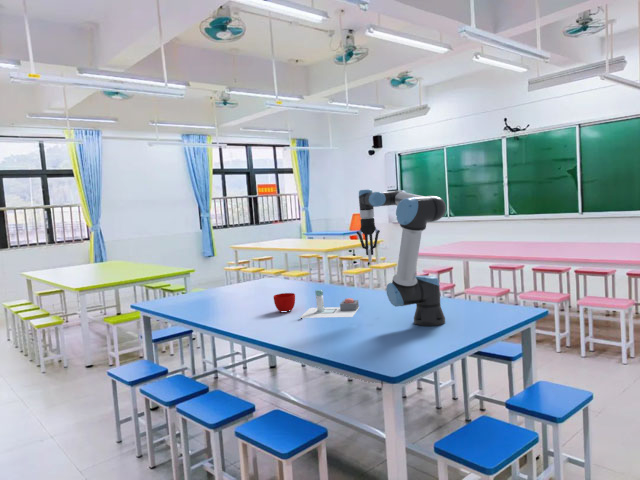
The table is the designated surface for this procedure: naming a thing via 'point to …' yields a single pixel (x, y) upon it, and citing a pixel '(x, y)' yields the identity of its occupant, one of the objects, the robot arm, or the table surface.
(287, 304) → the ceramic cup
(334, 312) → the sheet
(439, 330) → the table surface
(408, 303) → the robot arm
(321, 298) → the marker
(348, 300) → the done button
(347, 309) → the button housing
